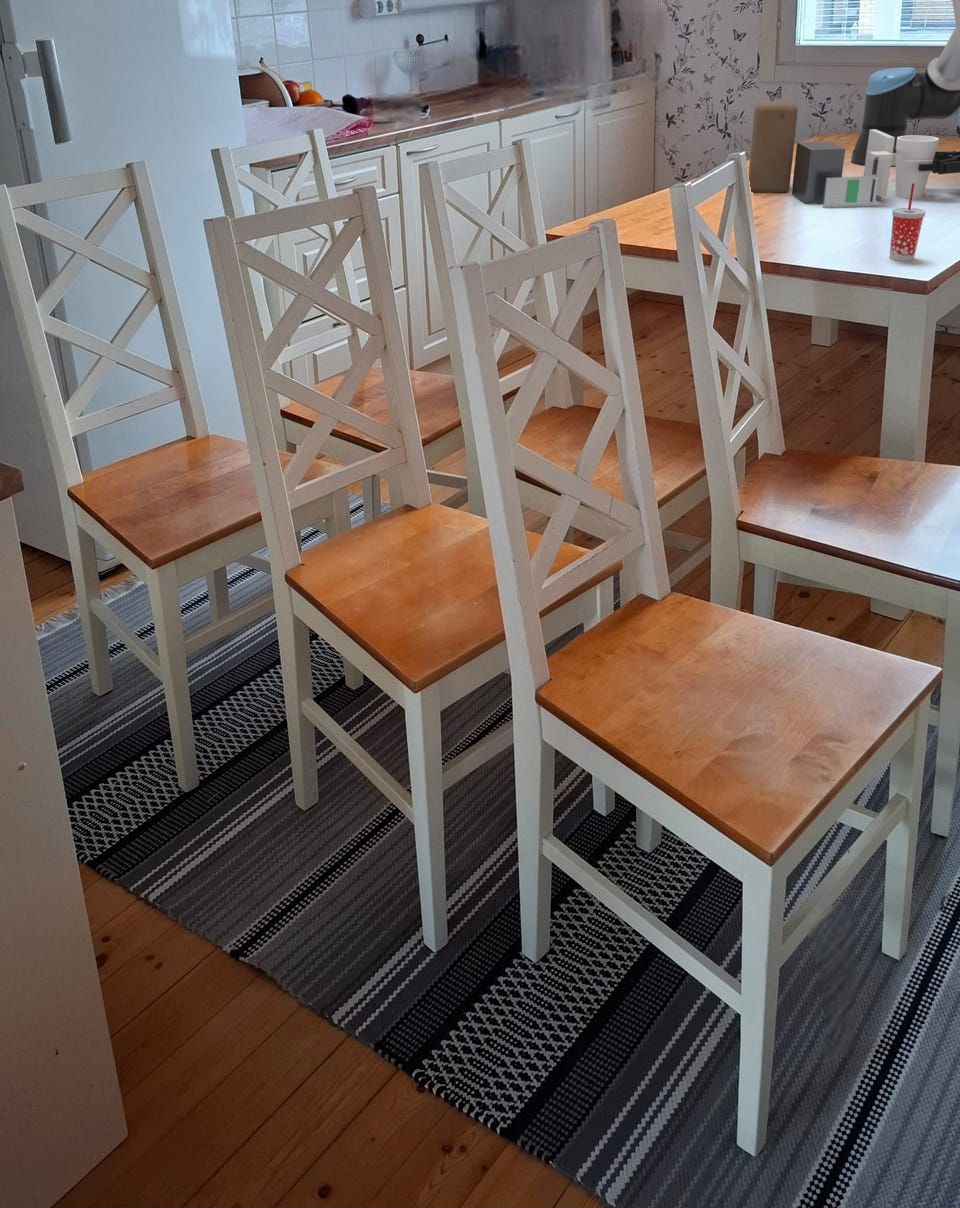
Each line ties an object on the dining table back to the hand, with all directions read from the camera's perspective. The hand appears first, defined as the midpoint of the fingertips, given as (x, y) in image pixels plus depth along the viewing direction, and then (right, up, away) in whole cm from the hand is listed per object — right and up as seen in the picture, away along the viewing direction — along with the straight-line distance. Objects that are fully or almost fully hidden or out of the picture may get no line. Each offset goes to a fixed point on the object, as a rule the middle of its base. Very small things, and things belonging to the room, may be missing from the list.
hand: (896, 163), depth 278 cm
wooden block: (-27, -1, +15) cm, 31 cm away
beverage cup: (-16, -37, -48) cm, 63 cm away
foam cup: (+5, -7, +4) cm, 9 cm away
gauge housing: (-13, -8, +1) cm, 16 cm away
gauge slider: (-6, -7, +1) cm, 9 cm away
